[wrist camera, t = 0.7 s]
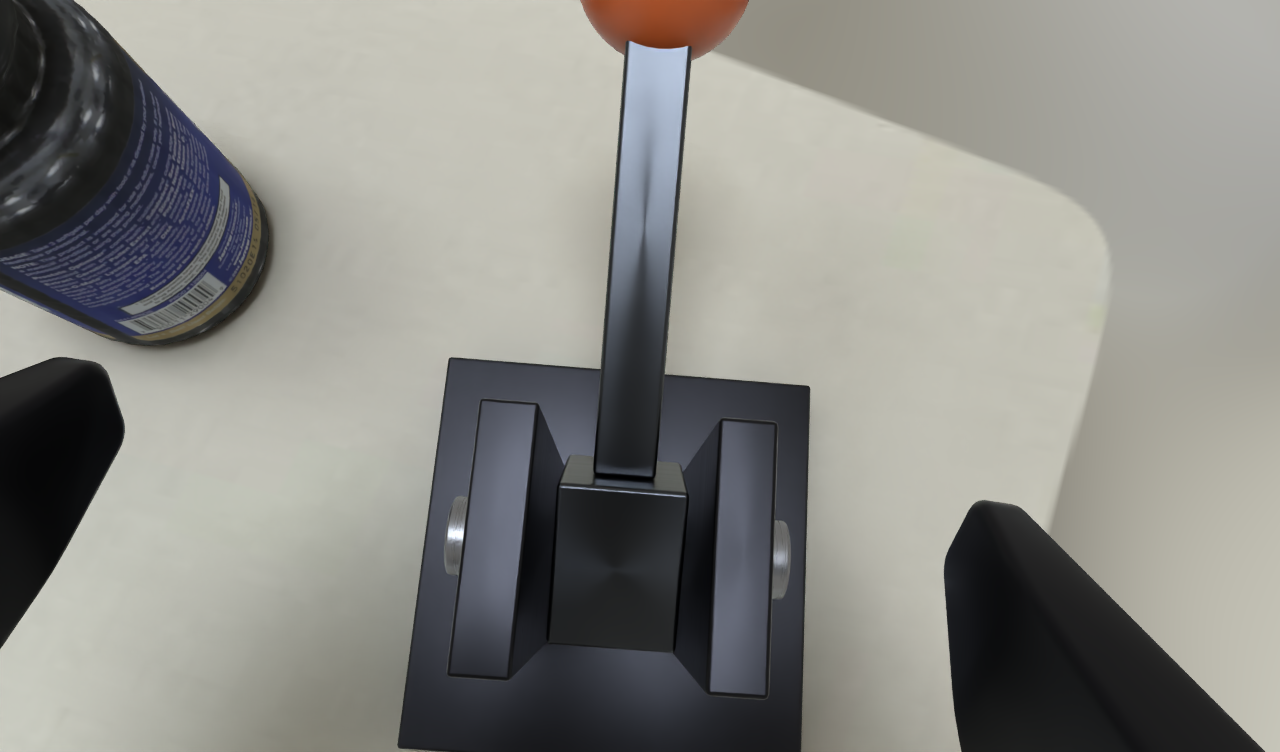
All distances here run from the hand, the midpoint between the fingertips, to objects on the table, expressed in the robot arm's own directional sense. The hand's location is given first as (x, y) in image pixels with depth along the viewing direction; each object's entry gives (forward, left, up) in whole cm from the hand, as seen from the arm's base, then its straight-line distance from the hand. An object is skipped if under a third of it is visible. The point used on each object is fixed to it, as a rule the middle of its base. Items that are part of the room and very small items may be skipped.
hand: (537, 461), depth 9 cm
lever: (+5, -1, -6) cm, 8 cm away
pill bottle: (+7, +13, -15) cm, 21 cm away
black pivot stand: (-1, -1, -15) cm, 15 cm away
